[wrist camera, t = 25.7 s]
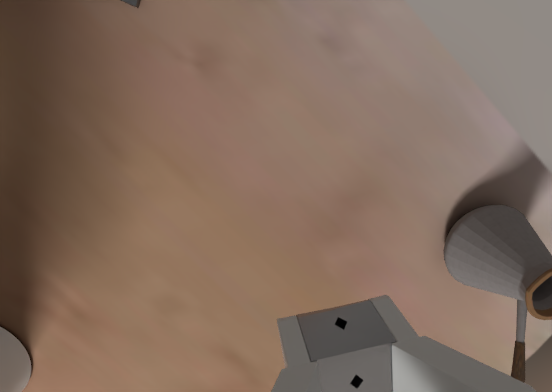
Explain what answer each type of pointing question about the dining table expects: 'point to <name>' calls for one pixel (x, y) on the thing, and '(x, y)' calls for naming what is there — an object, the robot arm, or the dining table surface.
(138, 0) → the vise
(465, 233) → the coffee pot
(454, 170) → the dining table surface
